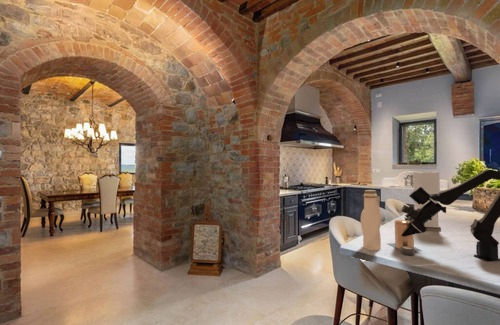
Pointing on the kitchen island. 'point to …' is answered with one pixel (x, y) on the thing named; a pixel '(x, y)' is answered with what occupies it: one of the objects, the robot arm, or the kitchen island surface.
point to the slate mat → (400, 250)
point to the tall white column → (431, 186)
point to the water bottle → (371, 221)
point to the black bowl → (407, 250)
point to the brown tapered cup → (399, 229)
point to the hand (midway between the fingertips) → (400, 233)
